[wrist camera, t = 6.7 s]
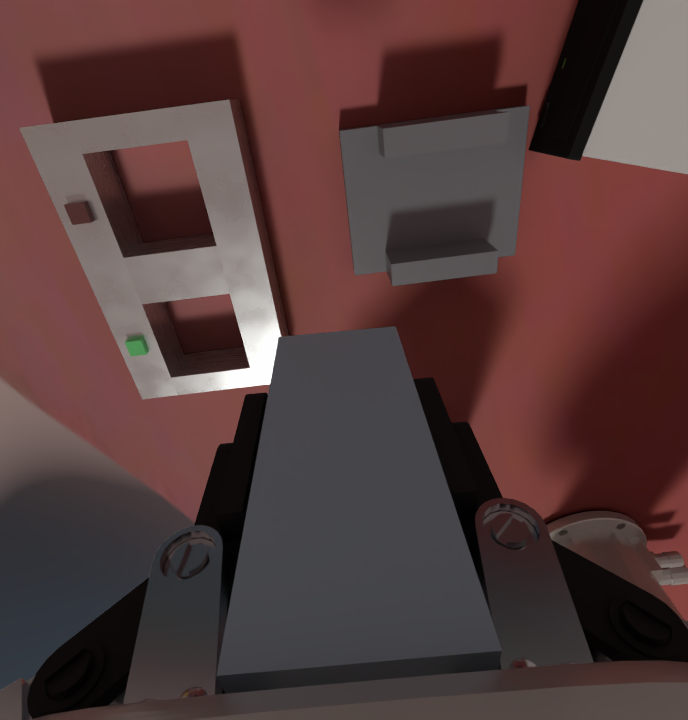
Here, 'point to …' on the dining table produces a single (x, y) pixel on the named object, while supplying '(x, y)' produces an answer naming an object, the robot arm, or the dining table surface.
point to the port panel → (168, 243)
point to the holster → (435, 194)
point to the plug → (350, 531)
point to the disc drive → (621, 86)
